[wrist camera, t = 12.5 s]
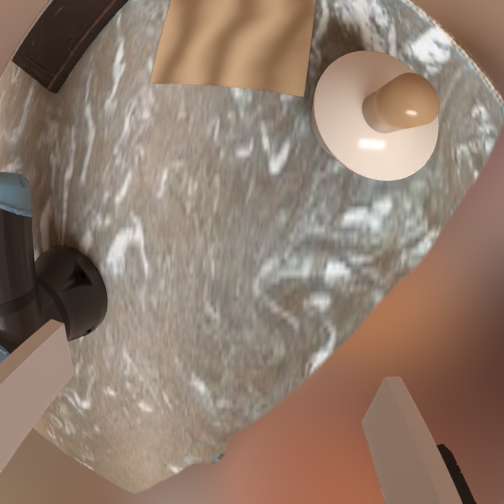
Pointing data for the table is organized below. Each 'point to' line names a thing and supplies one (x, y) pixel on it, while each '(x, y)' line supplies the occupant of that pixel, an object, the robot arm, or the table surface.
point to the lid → (376, 115)
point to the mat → (236, 44)
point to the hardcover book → (63, 38)
